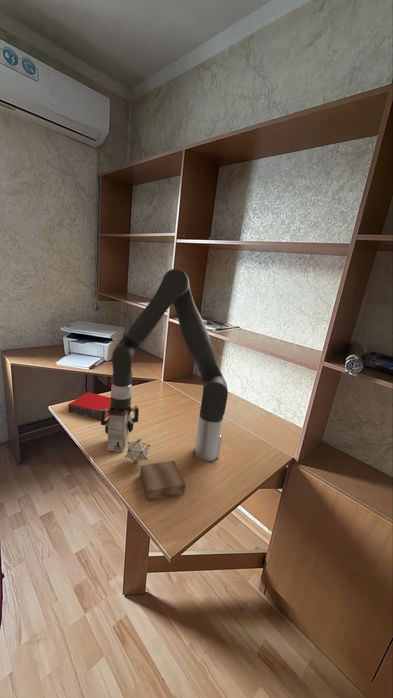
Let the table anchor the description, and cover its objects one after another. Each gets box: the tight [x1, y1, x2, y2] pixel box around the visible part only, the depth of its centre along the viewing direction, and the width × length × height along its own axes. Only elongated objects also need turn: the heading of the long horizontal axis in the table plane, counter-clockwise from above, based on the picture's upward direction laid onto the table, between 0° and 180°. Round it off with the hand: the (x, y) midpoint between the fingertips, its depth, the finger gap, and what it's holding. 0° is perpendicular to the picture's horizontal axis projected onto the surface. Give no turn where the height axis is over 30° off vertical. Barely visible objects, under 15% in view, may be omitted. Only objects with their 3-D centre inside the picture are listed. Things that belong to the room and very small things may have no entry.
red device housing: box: [67, 392, 111, 420], centre depth 139 cm, size 18×14×5 cm
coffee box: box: [106, 410, 131, 453], centre depth 113 cm, size 9×6×16 cm
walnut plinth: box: [139, 460, 186, 502], centre depth 97 cm, size 12×12×4 cm
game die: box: [124, 438, 151, 464], centre depth 105 cm, size 9×8×10 cm
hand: (118, 432), depth 114 cm, fingers closed on coffee box, 8 cm apart
